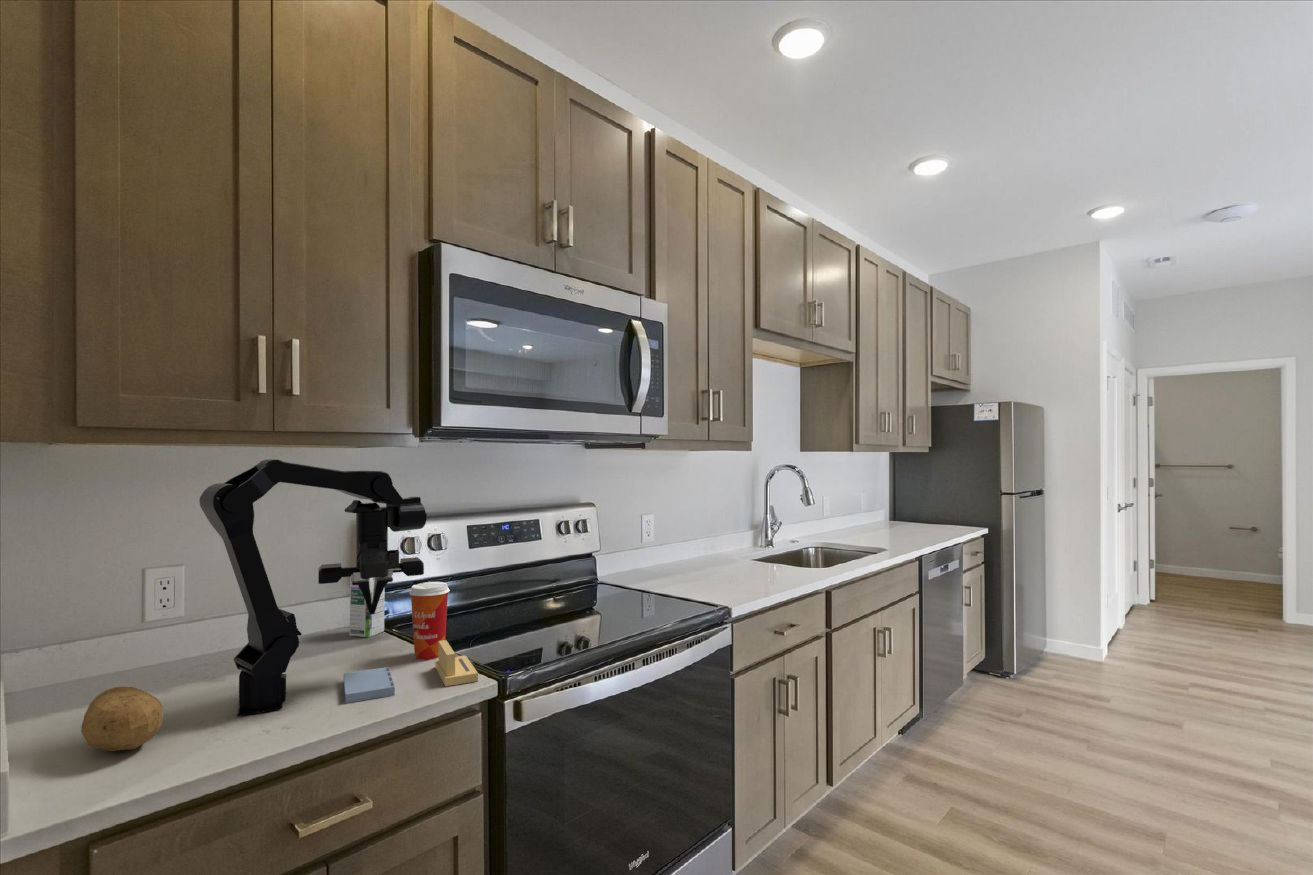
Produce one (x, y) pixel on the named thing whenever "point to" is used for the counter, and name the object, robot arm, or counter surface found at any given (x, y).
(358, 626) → the syrup box
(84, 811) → the counter surface
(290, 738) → the counter surface
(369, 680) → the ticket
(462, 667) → the stub
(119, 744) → the potato
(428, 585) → the coffee cup
